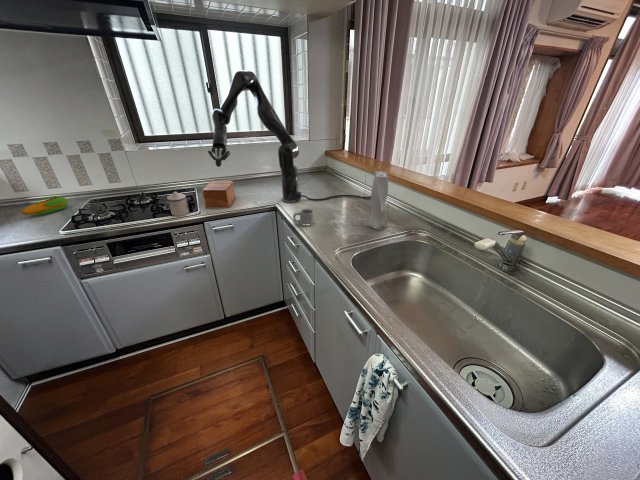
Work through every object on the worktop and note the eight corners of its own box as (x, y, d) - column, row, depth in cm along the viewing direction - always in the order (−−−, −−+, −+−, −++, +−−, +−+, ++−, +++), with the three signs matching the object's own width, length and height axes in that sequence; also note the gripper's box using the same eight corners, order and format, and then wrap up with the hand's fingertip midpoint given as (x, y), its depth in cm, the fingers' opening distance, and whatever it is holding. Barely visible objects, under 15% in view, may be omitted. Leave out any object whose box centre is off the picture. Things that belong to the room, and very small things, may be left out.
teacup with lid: (192, 212, 144) (187, 192, 138) (175, 217, 138) (169, 196, 132) (183, 206, 151) (178, 187, 145) (166, 211, 145) (160, 190, 139)
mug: (313, 221, 136) (313, 208, 133) (313, 226, 130) (313, 214, 127) (294, 220, 136) (293, 208, 133) (293, 226, 130) (292, 214, 127)
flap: (210, 181, 160) (210, 181, 160) (232, 181, 161) (232, 180, 161) (206, 186, 153) (206, 185, 152) (229, 186, 154) (229, 185, 153)
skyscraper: (375, 231, 126) (383, 173, 113) (363, 225, 132) (369, 169, 119) (387, 227, 131) (396, 170, 117) (375, 221, 136) (382, 166, 123)
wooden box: (213, 197, 165) (210, 181, 160) (235, 197, 166) (232, 180, 161) (205, 207, 150) (201, 190, 145) (229, 207, 151) (226, 190, 146)
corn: (67, 193, 145) (20, 206, 129) (74, 206, 149) (29, 220, 133) (60, 192, 148) (12, 204, 132) (67, 205, 151) (21, 219, 135)
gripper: (206, 136, 154) (204, 162, 150) (229, 136, 155) (228, 162, 151) (210, 144, 161) (208, 169, 157) (232, 144, 162) (231, 169, 158)
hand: (218, 165), depth 154 cm, fingers closed
